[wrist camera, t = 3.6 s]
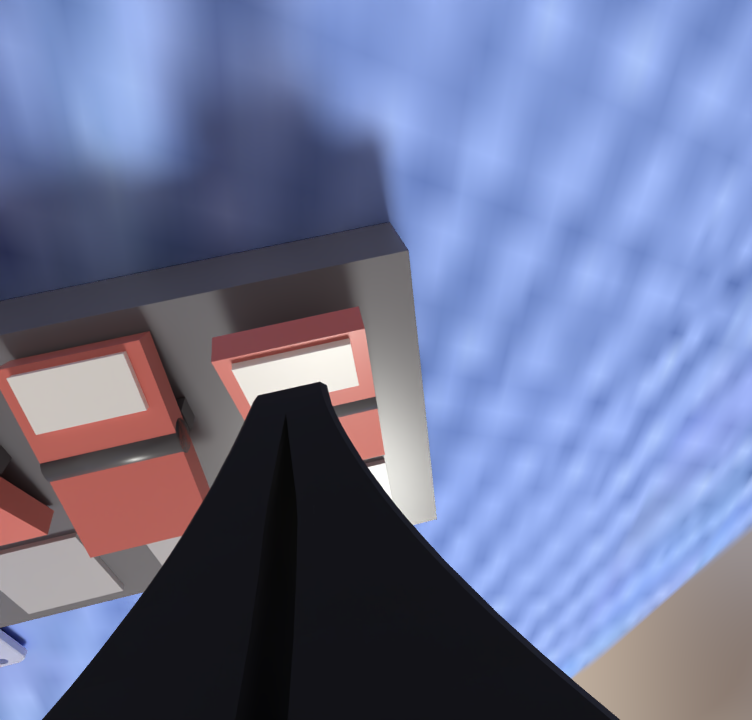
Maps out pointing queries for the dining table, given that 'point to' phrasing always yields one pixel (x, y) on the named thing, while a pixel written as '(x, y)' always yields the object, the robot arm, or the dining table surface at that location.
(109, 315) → the switch panel
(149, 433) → the rocker
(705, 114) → the dining table surface
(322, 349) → the rocker
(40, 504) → the rocker
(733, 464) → the dining table surface
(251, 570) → the robot arm
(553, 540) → the dining table surface
